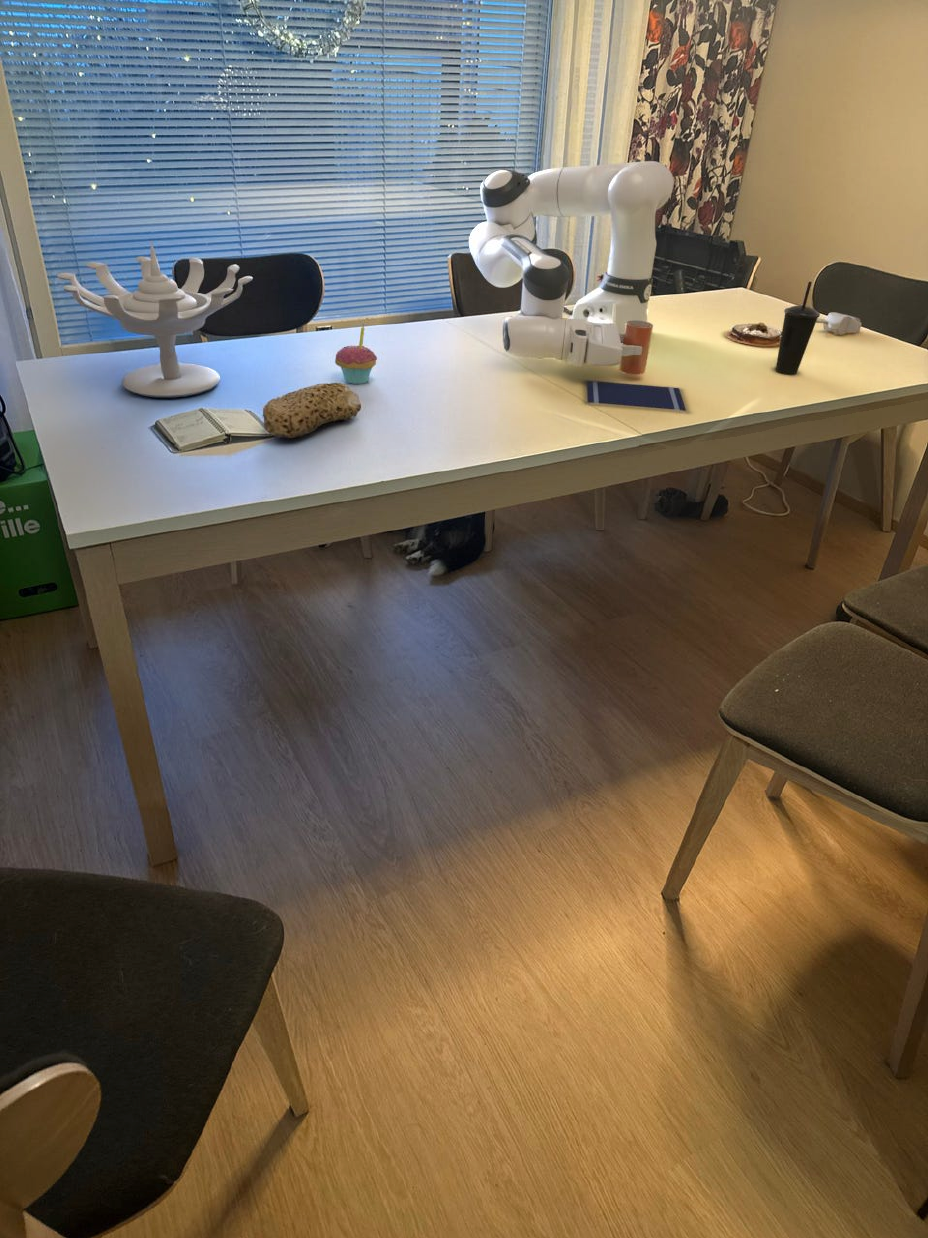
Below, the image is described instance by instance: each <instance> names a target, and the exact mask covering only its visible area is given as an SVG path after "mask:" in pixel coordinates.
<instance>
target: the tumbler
mask: <svg viewBox="0 0 928 1238" xmlns="http://www.w3.org/2000/svg"><path fill="white" fill-rule="evenodd" d="M653 330H654V324H653V323H651V322H648V321H647V322H645V321H637V320H633V321H628V322H626V326H625V333H624V339H623V343H622V344H625V345H641V346H642V353H641V355H630V356H621V362H620V364H618V370H619V371H620V372H622V373H624V374H627V375H643V374H645V373H646V371H647V364H648V358H649V352H650V347H651V343H652V335H653Z"/></svg>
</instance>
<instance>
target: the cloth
mask: <svg viewBox="0 0 928 1238" xmlns="http://www.w3.org/2000/svg"><path fill="white" fill-rule="evenodd" d="M586 396H587V397H586V398H587V399H586V400H587V403H589V404H601V405H613V406H625V407H637V408H648V409H660V410H671V411H685V412H686V411H687V408H686V405H685V402H684V399H683V395H682V394H681V389H680V388H679V387H672V386H661V385H660V386H658V385H646V384H634V383H623V382H622V383H621V382H609V381H597V380H586Z"/></svg>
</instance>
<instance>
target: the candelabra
mask: <svg viewBox="0 0 928 1238" xmlns="http://www.w3.org/2000/svg"><path fill="white" fill-rule="evenodd" d="M155 251H156V250H155V248H154V245H153V242H152V241H150V257H147V256H141V255H140V256H137V257H135V258H134V259H135V261H137V262H138V263H139V264H140V270H141V278H142V279H141V280H140V281H139V283H138V286H137V288H138V289H136V290H135V291H132V292H131V291H129V290H127V289H125V288H124V287H123V286H121V285H120V283H118V282H117V281H116V280H115V279H114V277H113V275H112V273H111V271H110V268H109V266H108V265H107V264H105V263H102V262H96V261H89V262H87V263H85V264H84V266H86V267H87V268H89V269H92V270H95V274H96V277H97V280H98V282H99V283H100V284H101V285H102V286H103V287H104V288H105V289H106V290H107V291H108V292H109V293H110V294H104V295H103V296H101V295H98V294H96V293H93V292H92V291H90V290H88V289H86V288H85V287H83V286H82V285H81V283H80V282H79V281H78V279H77V276H76V273H71V272H60V273H58V274H56V276H57V278H58V279H60V280H64V281H70V285H68V284H67V285H64V286H62V289H63V290H64V291H65V292H68V293H72V297H73V298H74V300H75V301H76V302H77V303H78V304H79V305H80V306H82V307H84V308H87V309H89V310H90V311H93V312H96V313H98V314H101V315H104V316H106V317H109V318H112V319H114V320H116V321H118V323H119V324H120V326H121V328H122V329H123V330H125V331H126V332H129V333H132V334H137V335H141V336H143V335H144V336H151V337H152V336H153V337H154V338H155V341H156V343H157V345H158V348H159V361H160V363H157V364H152V365H146V366H143V367H139V368H136V369H133V371H131V372H129V373H127V374H126V375H125V376H124V377H123V378H122V386H123V388H124V389H126V390H127V391H129V392H130V393H133V394H137V395H140V396H144V397H151V398H167V399H168V398H170V399H171V398H181V397H188V396H193V395H194V396H195V395H199V394H202V393H204V392H208V391H210V390H212V389H213V388H215V387H216V386H218V384H219V382H220V380H221V377H220V374H219V373H218V372H217V370H214V369H212V368H211V367H207V366H204V365H202V364H201V365H200V364H195V363H189V362H187V363H186V362H179V360H178V359H179V358H178V354H177V352H176V339H177V335H183V334H188V333H192V332H195V331H197V330H200V329H201V328H203V327H204V325H205V323H206V319H207V318H208V317H209V316H210V315H212V314H214V313H215V312H217V311H219V310H221V309H223V308H225V307H226V306H228V305H230V304H231V303H233V302H234V301H235V300H237V299H239V298H240V297H241V295H242V292H243V285H246V284H248V283H249V282H251V281H253V277H252V276H251V275H247V276H243V277H241V278H239V279H238V280H237V288H236V290H235V292H233V291H234V286H235V283H236V274H237V273H238V272H239V270H240V266H239V265H237V264H231V265H229V266H228V267H227V268H226V269H227V273H226V277H225V279H224V280H223V282H221V284H220V285H218V287H216V288H215V289H213V290H211V291H209V292H207V293H201V292H200V293H199V289H200V287H201V284H202V282H203V280H204V277H205V268H204V261H203V260H202V259H201V258H199V257H195V256H194V257H190V258H189V259H188V261H189V272H188V277H187V279H186V280H185V283H184V285H182V287H181V288H178V284H177V282H176V281H175V280H173V279H172V278H169V277H168V276H167V274H164V273H162V271H161V269H160V265H159V262H158V261H159V260H158V258H157V255H156V252H155ZM232 292H233V293H232ZM231 293H232V294H231ZM228 294H230V295H228ZM225 295H228V296H227V297H225V298H224V296H225Z"/></svg>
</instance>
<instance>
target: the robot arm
mask: <svg viewBox="0 0 928 1238" xmlns="http://www.w3.org/2000/svg"><path fill="white" fill-rule="evenodd" d="M674 186H675V182H674V177H673V173H672V172H671V170H670V169H669V168H668V166H666V165H664V164H663V163H661V162H659V161H654V160H647V161H646V160H645V161H634V162H620V163H610V164H609V163H608V164H597V165H596V164H595V165H580V166H578V165H577V166H563V167H555V168H554V167H553V168H548V169H544V170H539V171H537V172H534V173H532V174H530V175H529V176H527V174H525V173H523V172H518V171H516V170H513V169H507V168H501V169H497V170H494V171H493V172H491V173H489V174H488V175H487V176H486V177H485V178H484V179H483V181H482V182H481V183H480V191H479V192H480V201H481V203H482V204H483V205H482V206H483V210H484V214H485V219H486V221H483V222H481V223H479V224H477V225H475V227H474V228H473V230H472V231H471V233H470V235H469V238H468V247H469V251H470V254H471V257H472V259H473V261H474V263H475V265H476V267H477V269H478V270H479V272H480V273H481V275H482V276H483V278H484V279H485V280H486V281H487V282H488V283H489V284H491V285H492V286H494V287H495V288H510V287H512V286H514V285H516V284H517V283H519V282H520V281H521V280H522V287H521V300H520V301H521V302H520V303H521V304H520V309H519V310H518V312H517V313H516V314H515V315H513V316H512V315H511V316H506V317H505V318H504V321H503V324H502V345H503V348H504V350H505V352H507V354H510V355H513V356H517V357H522V358H527V359H538V360H543V359H554V360H557V361H561V362H568V363H570V364H571V365H573V367H577V368H580V367H581V368H583V367H584V366H585V365H587V366H596V367H597V366H599V367H613V366H619V365H620V362H621V356H630V355H641V353H642V346H641V345H625V344H623V339H624V333H625V326H626V322H628V321H633V320H637V321H645V322H648V313H649V309H648V307H649V301H650V298H651V293H652V288H653V287H652V285H653V276H652V274H653V268H654V262H655V257H656V252H657V251H656V250H657V238H656V214H657V210H660V209H661V208H662V207H664V205H665V204H666V203H667V202H668V200H669V199H670V197H671V195H672V193H673V192H674V191H673V190H674ZM538 216H544V217H552V218H577V217H580V218H581V217H582V218H583V217H599V216H600V217H601V216H610V247H609V255H608V262H607V271H606V272H604V273H602V274H600V275H598V276H596V278H597V279H596V282H599V284H598V286H597V287H596V288H595V289H592V291H590V292H588V293H587V294H585V295H584V296H583V297H579V300H577V302H576V303H575V305H574V307H573V309H572V310H569V309H568V308H567V307H565V303H566V297H567V296H566V294H567V290H568V286H569V281H570V276H571V274H570V270H569V268H568V267H567V265H566V264H565V263H564V262H563V260H561V259H560V258H558V257H557V256H554V255H551V254H548V252H546V251H545V250H544V249H542V248H541V247H540V246H538V245H537V244H538V234H537V230H536V228H535V220H534V218H536V217H538ZM564 312H565V313H566V314H568V315H571V316H570V317H564Z"/></svg>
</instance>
